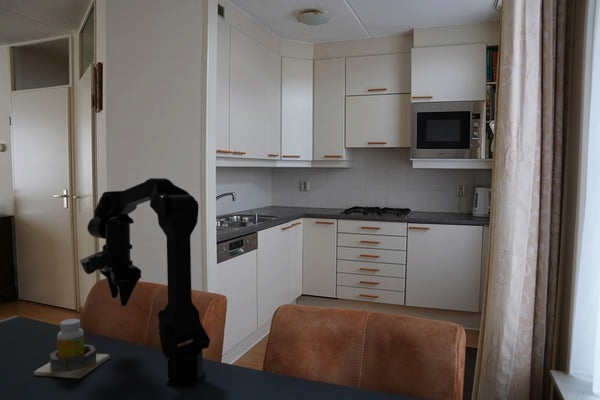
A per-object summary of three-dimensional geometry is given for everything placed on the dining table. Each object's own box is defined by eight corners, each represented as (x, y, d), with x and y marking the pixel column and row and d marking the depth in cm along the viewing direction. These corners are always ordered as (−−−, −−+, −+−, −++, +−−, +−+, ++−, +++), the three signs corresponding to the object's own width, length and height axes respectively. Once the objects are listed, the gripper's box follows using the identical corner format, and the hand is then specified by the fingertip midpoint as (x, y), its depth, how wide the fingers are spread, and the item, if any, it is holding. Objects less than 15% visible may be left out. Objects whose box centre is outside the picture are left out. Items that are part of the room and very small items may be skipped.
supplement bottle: (76, 368, 96) (75, 325, 95) (52, 368, 96) (51, 325, 95) (88, 358, 101) (88, 317, 101) (66, 358, 101) (65, 317, 101)
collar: (109, 357, 104) (109, 344, 103) (79, 378, 93) (79, 363, 93) (68, 354, 105) (67, 341, 105) (34, 374, 94) (33, 360, 94)
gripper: (75, 239, 111) (77, 298, 112) (90, 248, 96) (91, 317, 97) (121, 236, 118) (121, 292, 118) (141, 244, 103) (142, 308, 103)
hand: (118, 301), depth 109 cm, fingers open, 9 cm apart
